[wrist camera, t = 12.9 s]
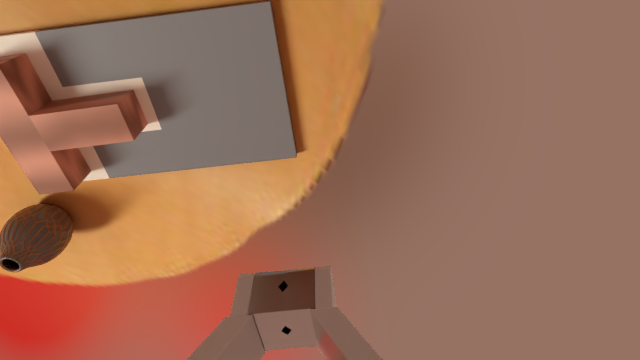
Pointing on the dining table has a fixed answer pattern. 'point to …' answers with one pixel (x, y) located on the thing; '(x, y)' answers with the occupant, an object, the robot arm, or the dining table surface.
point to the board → (174, 85)
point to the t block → (59, 125)
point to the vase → (34, 237)
